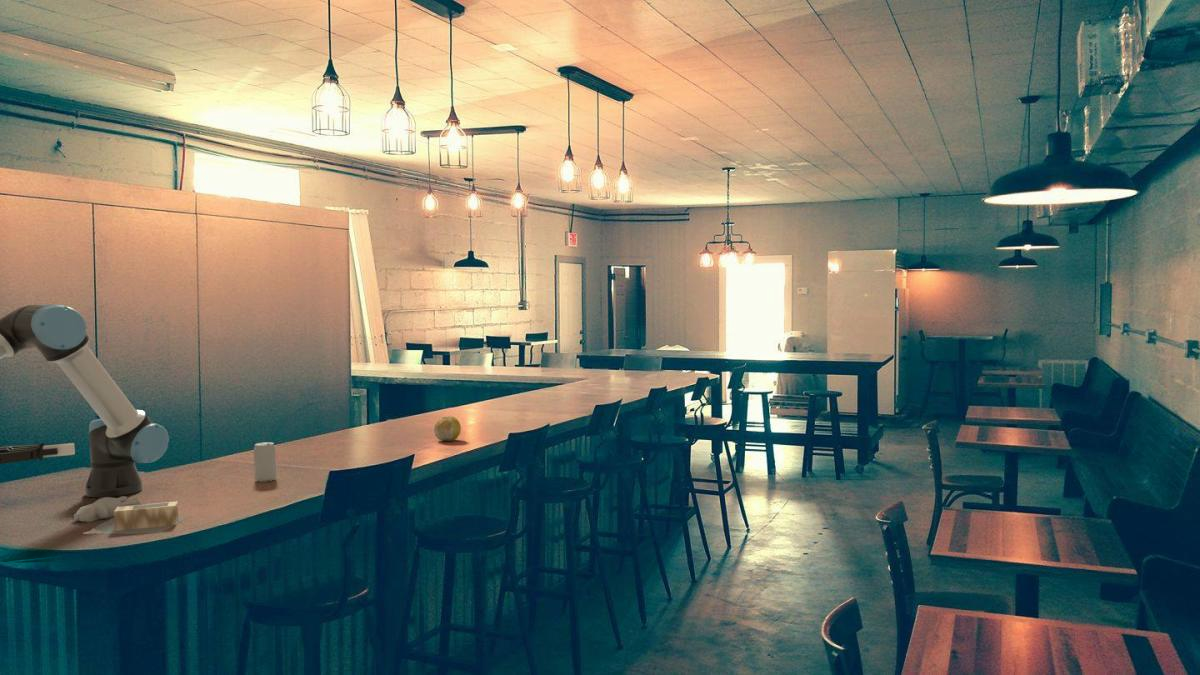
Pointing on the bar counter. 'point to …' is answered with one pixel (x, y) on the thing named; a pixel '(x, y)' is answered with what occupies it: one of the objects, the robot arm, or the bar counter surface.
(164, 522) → the maple block
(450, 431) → the fruit
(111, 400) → the robot arm
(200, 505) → the bar counter surface
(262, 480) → the beverage can
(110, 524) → the rubber mat
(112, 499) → the bunny figurine
